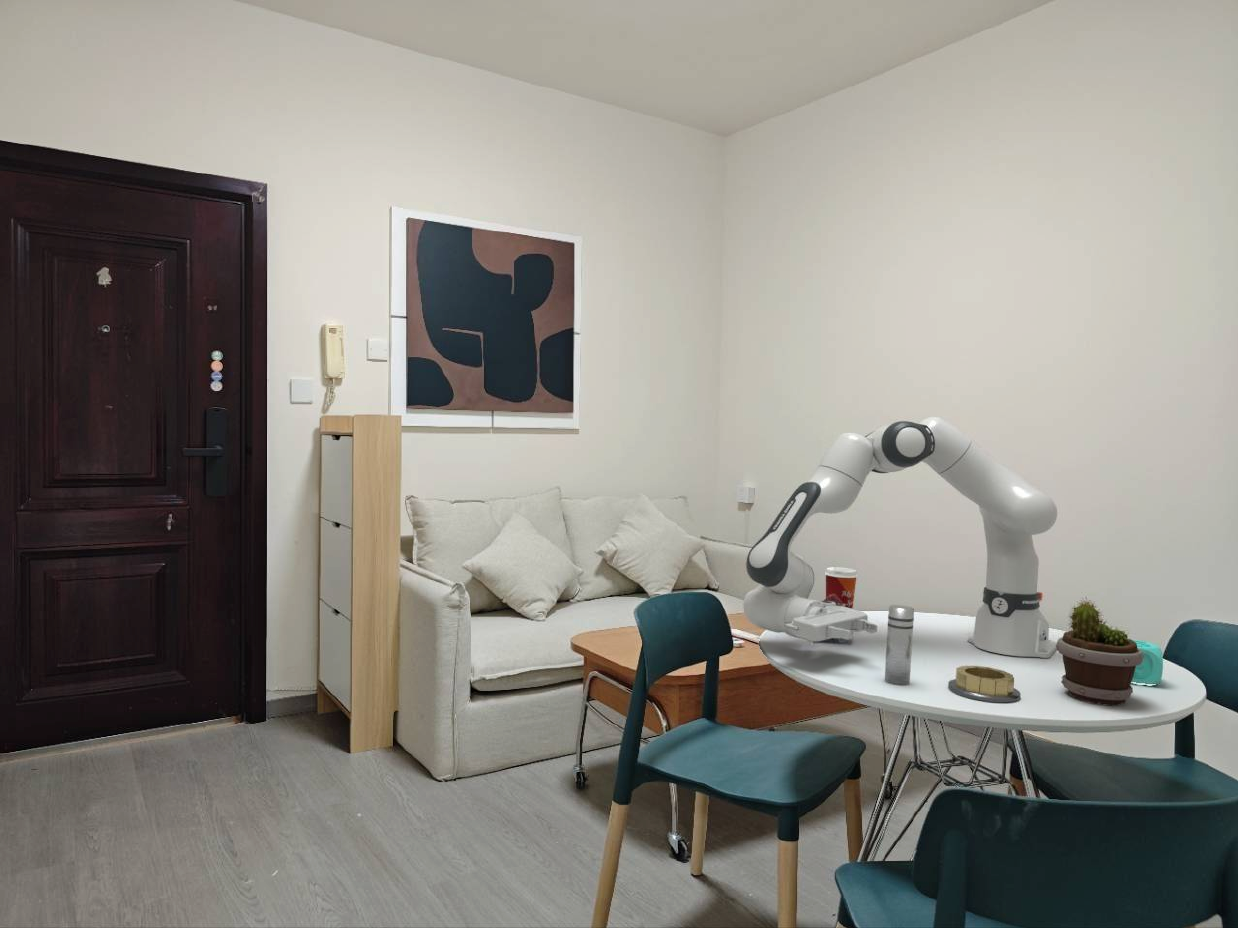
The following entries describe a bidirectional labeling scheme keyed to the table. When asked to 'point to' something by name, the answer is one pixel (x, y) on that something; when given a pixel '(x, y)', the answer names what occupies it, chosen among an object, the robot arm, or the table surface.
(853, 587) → the coffee cup
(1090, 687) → the flowerpot
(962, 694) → the ring seat
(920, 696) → the table surface
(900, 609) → the piston
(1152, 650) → the decorative dice
